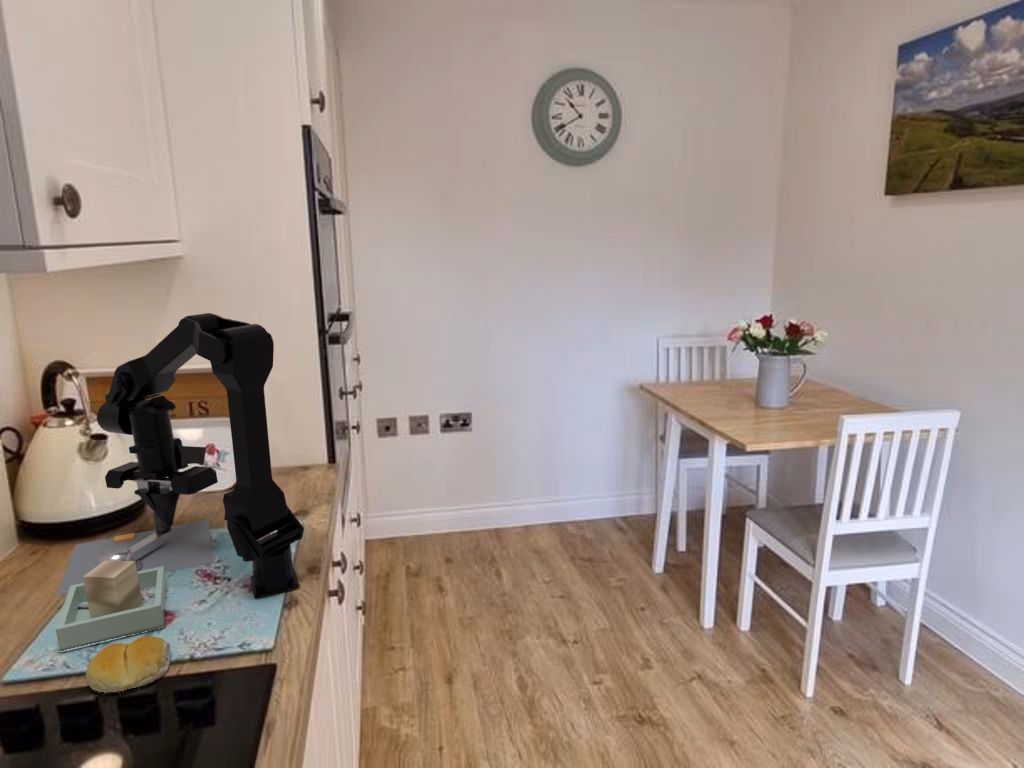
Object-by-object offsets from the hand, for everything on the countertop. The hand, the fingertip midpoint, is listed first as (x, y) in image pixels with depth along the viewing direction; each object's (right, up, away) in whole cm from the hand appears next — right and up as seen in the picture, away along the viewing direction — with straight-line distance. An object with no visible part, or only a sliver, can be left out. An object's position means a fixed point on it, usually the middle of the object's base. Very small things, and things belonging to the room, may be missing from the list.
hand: (169, 525), depth 111 cm
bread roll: (+11, -12, -30) cm, 34 cm away
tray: (+2, -9, -18) cm, 20 cm away
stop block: (+2, -9, -18) cm, 20 cm away
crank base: (-4, -5, -1) cm, 7 cm away
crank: (-3, -4, -3) cm, 6 cm away
